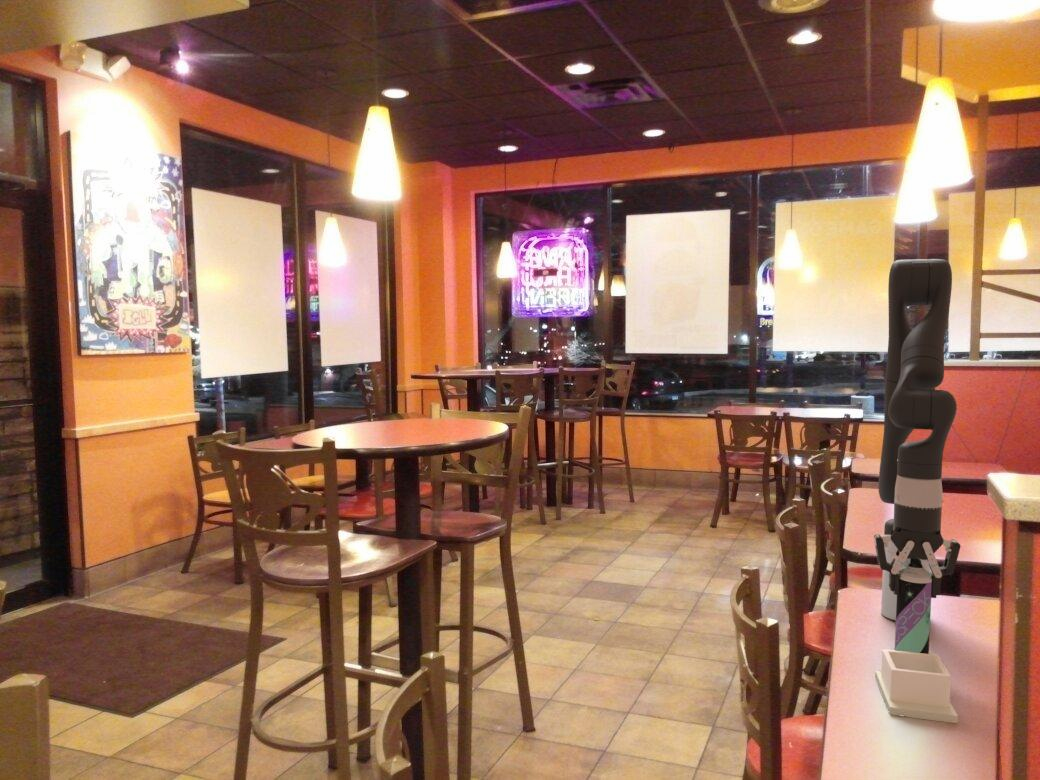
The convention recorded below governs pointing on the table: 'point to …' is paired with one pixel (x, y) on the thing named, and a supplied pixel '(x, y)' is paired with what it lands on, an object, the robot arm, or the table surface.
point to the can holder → (916, 685)
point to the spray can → (913, 608)
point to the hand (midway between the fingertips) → (913, 594)
